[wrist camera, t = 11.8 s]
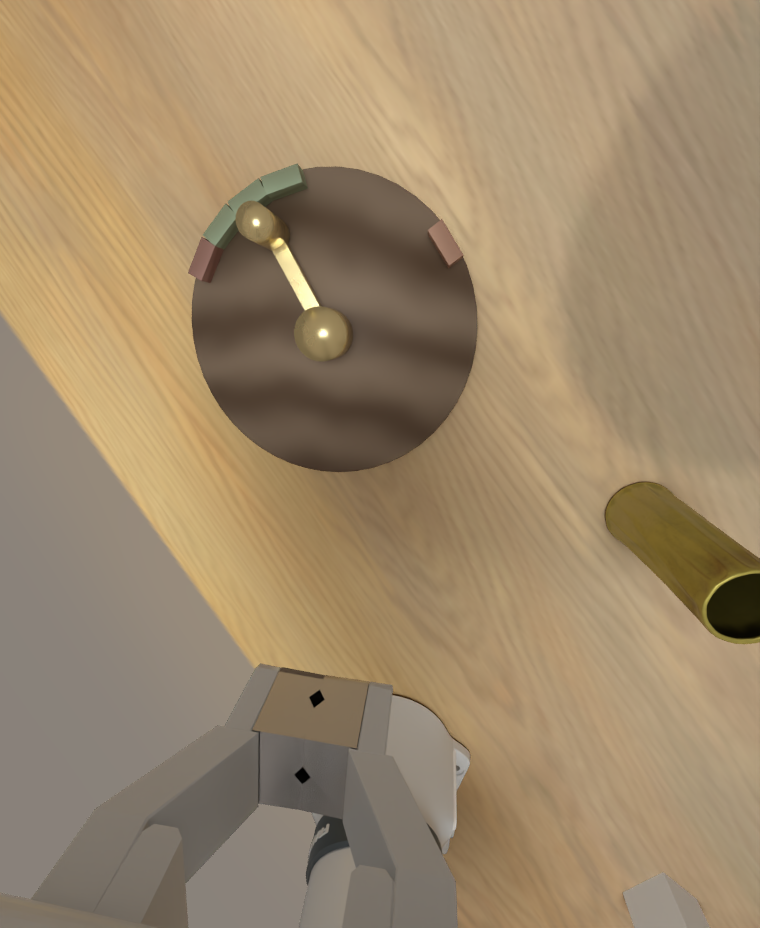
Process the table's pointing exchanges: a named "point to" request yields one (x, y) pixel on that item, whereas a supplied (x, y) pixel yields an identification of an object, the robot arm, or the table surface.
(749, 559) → the vase
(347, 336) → the brass dumbbell
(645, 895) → the light grey cube
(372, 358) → the dial base
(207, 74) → the table surface
